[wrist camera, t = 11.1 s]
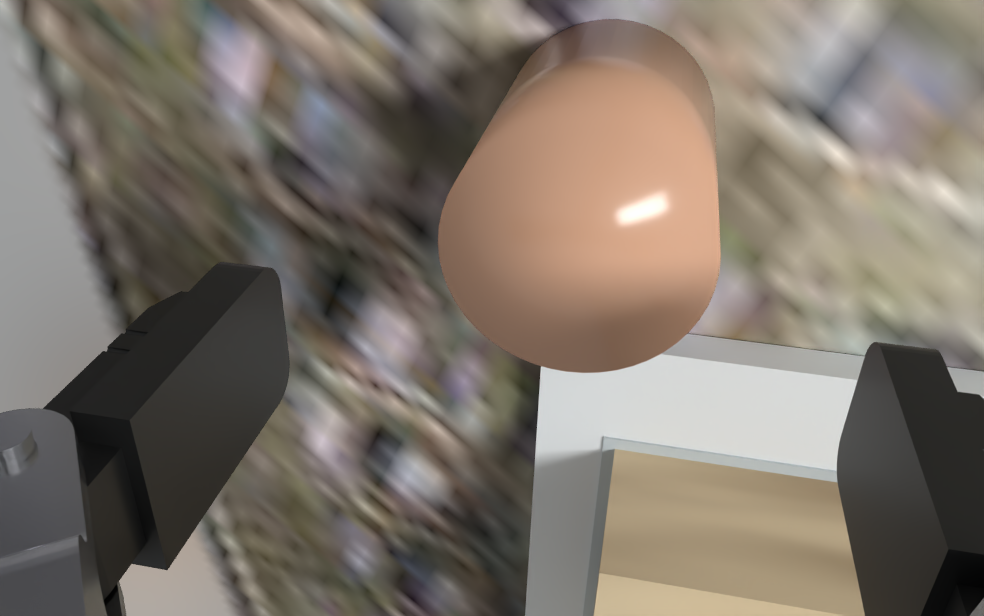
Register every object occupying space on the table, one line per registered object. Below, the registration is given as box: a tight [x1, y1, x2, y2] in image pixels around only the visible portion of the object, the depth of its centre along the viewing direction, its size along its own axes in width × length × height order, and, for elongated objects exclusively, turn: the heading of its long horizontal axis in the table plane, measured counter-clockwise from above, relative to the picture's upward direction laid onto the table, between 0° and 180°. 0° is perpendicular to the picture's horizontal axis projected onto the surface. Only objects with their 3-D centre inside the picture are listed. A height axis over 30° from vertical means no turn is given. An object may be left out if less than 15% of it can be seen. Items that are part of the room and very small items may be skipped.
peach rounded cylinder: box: [438, 19, 721, 373], centre depth 16 cm, size 4×4×6 cm
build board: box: [525, 334, 984, 616], centre depth 24 cm, size 14×12×1 cm
